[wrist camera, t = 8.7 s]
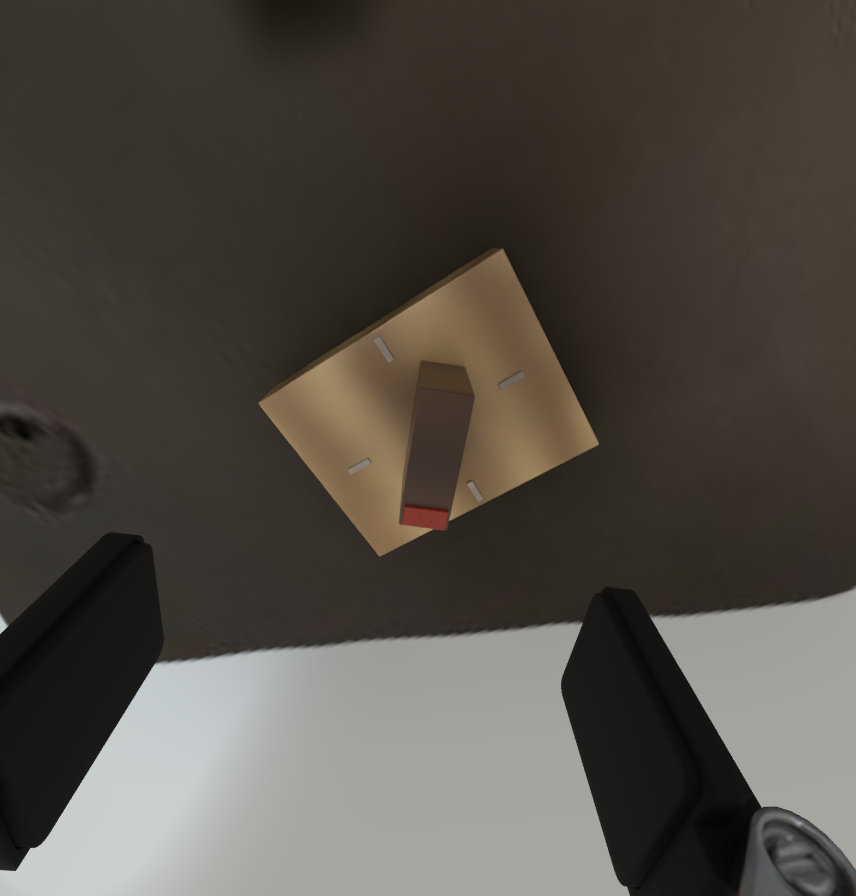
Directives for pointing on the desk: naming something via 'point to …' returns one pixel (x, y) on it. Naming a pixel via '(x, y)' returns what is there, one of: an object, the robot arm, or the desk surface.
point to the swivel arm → (435, 445)
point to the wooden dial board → (393, 393)
